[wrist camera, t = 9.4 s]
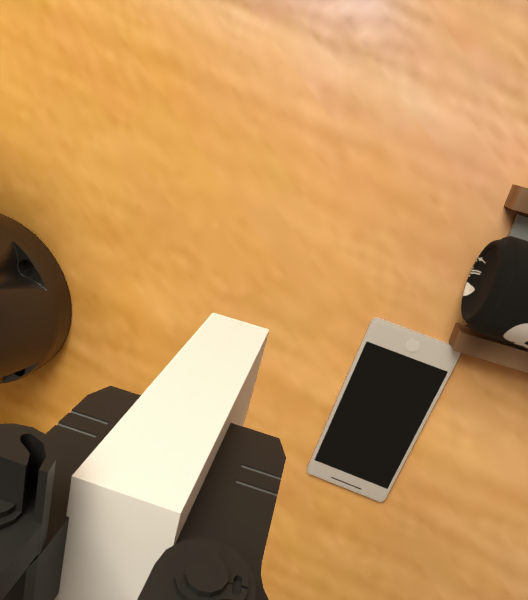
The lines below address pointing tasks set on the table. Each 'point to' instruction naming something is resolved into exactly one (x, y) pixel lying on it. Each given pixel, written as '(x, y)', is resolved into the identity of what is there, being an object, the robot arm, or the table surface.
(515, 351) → the walnut U-rest
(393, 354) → the smartphone
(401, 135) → the table surface
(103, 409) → the robot arm
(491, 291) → the beverage can
